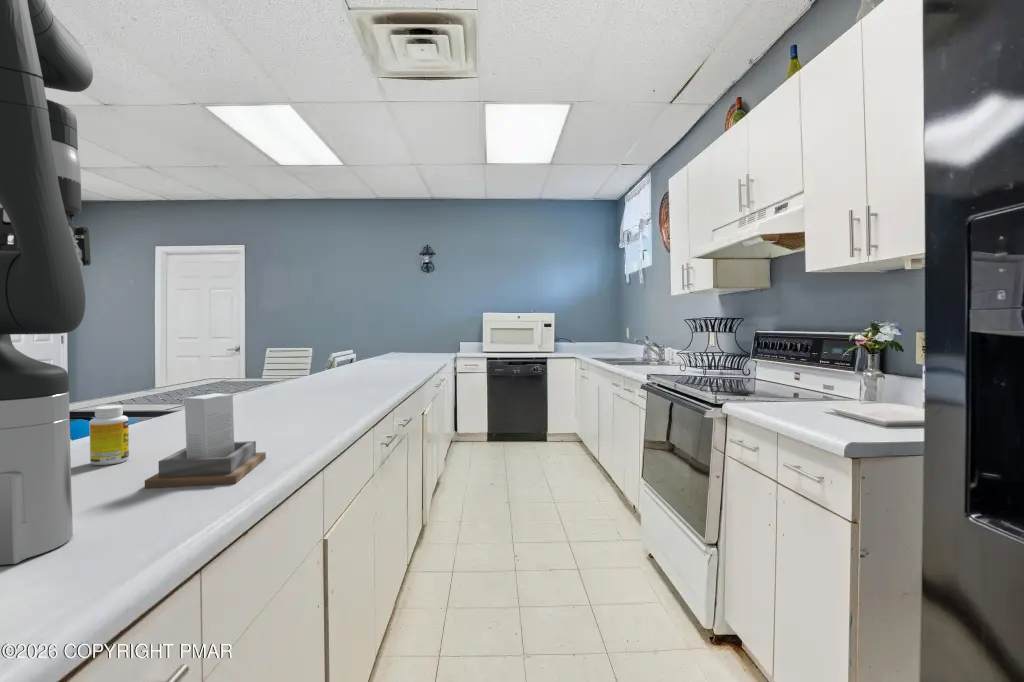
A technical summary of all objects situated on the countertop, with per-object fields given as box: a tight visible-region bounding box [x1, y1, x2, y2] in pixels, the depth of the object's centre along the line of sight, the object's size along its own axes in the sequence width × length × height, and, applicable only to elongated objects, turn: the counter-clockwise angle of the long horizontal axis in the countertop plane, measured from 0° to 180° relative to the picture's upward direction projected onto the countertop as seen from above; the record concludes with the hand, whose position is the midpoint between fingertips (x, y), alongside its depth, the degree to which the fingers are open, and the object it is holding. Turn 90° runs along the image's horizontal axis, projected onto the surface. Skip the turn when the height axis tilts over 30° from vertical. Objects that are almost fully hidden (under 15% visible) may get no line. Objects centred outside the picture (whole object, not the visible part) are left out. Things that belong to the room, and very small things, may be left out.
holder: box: [144, 440, 267, 489], centre depth 84 cm, size 15×13×4 cm
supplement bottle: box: [88, 404, 130, 466], centre depth 90 cm, size 6×6×10 cm
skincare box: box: [184, 392, 235, 459], centre depth 84 cm, size 6×4×12 cm
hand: (49, 290), depth 71 cm, fingers open, 8 cm apart
